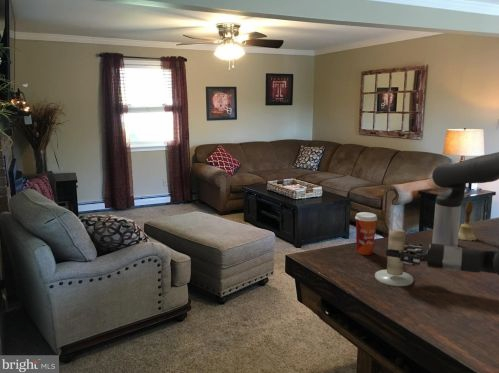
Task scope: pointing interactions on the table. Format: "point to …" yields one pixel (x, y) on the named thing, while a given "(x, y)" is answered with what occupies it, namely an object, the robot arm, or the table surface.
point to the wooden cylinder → (395, 243)
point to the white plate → (394, 278)
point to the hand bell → (467, 225)
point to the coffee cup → (365, 232)
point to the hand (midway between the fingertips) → (387, 249)
